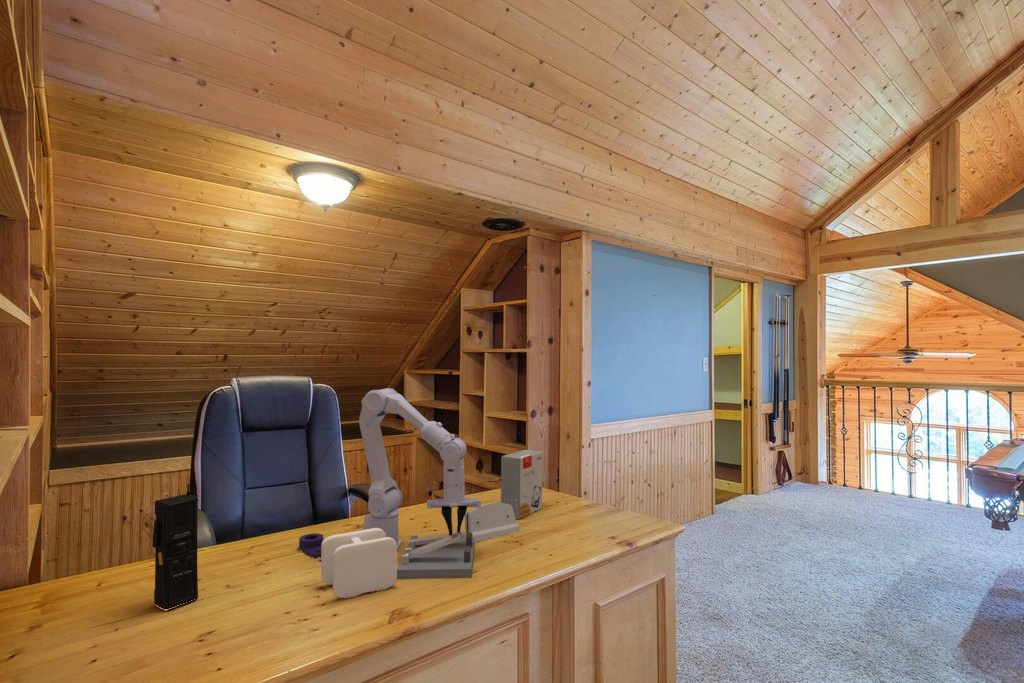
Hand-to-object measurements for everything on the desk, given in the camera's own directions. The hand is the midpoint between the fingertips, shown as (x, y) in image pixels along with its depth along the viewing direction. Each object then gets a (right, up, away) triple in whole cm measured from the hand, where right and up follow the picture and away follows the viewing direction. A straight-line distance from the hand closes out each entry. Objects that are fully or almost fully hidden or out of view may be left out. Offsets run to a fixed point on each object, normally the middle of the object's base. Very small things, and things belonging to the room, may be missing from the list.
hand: (454, 534), depth 143 cm
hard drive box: (+19, -6, +36) cm, 41 cm away
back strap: (-5, -2, 0) cm, 5 cm away
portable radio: (-58, -5, -29) cm, 65 cm away
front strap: (-4, 0, -10) cm, 11 cm away
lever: (-39, -6, +1) cm, 39 cm away
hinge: (+9, -6, +15) cm, 18 cm away
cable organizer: (-20, -5, -21) cm, 29 cm away
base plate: (-4, -5, -5) cm, 8 cm away
